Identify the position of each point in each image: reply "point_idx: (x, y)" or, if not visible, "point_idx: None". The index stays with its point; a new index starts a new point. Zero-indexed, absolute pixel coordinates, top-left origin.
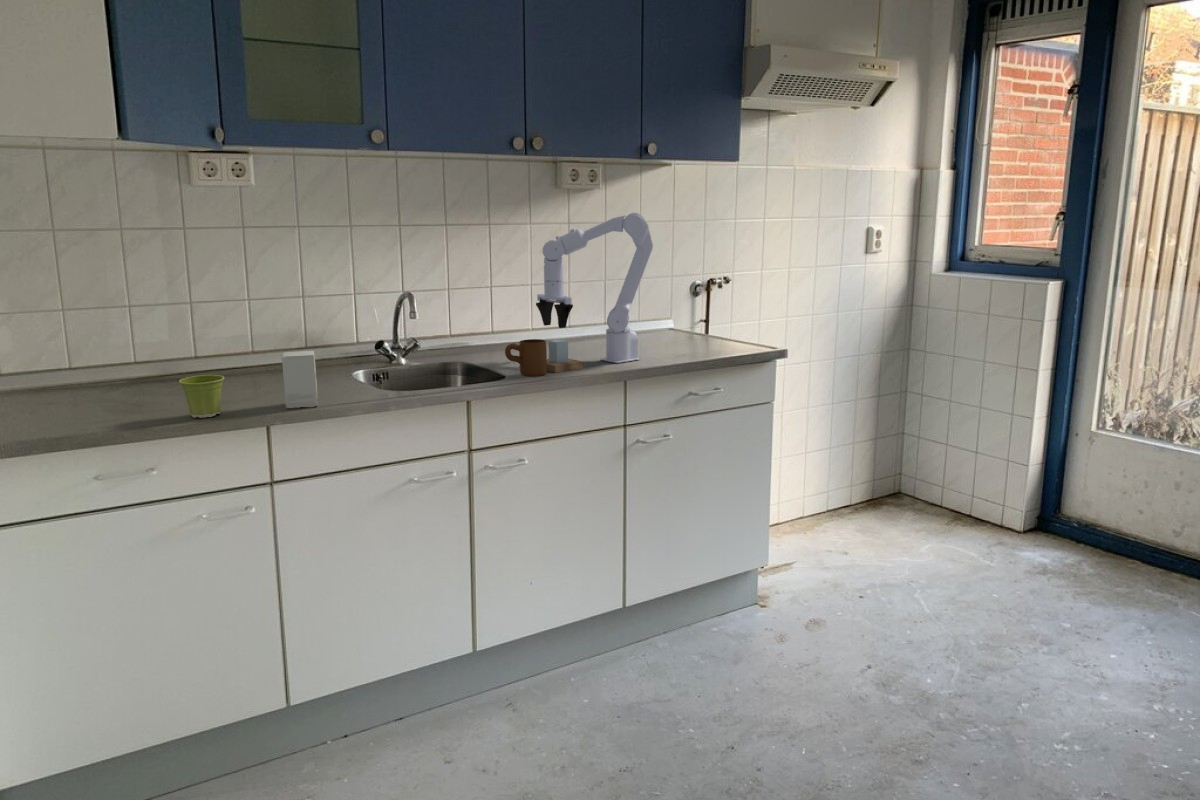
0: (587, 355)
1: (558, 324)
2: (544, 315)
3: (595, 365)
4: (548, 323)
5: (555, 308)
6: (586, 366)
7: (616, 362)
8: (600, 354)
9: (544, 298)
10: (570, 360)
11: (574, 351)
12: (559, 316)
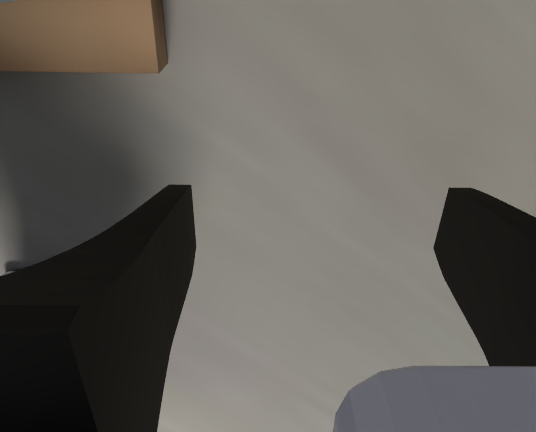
0: (296, 309)
1: (179, 194)
2: (510, 253)
3: (16, 174)
4: (444, 237)
5: (99, 288)
6: (10, 119)
7: (5, 273)
8: (274, 354)
9: (418, 390)
10: (3, 31)
11: (427, 329)
12: (99, 237)
